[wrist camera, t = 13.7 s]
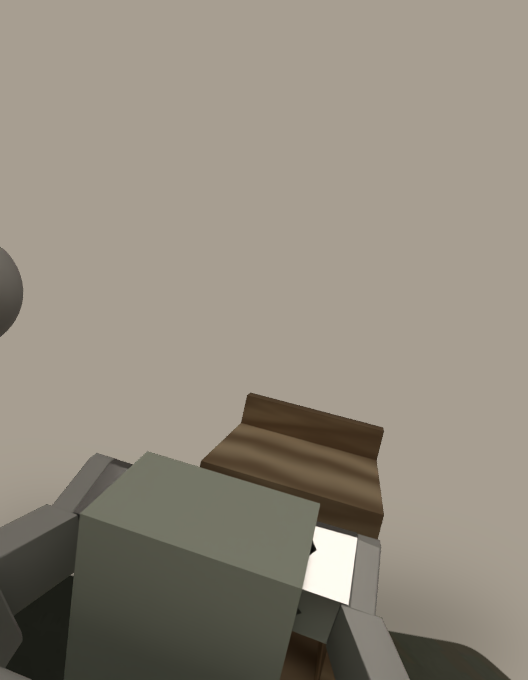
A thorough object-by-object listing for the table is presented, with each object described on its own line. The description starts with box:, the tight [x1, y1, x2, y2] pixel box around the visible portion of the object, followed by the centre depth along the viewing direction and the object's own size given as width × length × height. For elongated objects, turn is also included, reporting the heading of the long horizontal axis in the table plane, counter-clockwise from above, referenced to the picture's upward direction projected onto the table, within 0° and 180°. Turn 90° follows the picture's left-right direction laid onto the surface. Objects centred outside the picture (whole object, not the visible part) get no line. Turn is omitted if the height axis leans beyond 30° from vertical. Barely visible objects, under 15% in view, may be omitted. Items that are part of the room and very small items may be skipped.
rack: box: [200, 393, 384, 680], centre depth 42 cm, size 14×14×29 cm
